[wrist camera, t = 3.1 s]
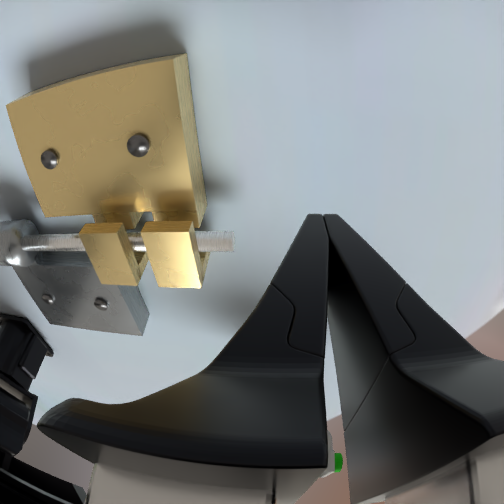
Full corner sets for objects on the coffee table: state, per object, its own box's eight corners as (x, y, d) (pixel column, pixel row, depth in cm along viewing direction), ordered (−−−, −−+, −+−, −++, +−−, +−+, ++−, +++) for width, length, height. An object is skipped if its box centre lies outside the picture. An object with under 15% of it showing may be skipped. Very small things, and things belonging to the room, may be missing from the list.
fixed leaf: (48, 304, 24) (33, 335, 22) (-5, 210, 18) (-32, 240, 15) (248, 319, 23) (243, 361, 20) (235, 193, 16) (225, 236, 14)
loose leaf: (80, 241, 19) (55, 281, 16) (29, 92, 12) (-16, 117, 10) (213, 240, 18) (201, 288, 16) (186, 53, 12) (158, 65, 9)
